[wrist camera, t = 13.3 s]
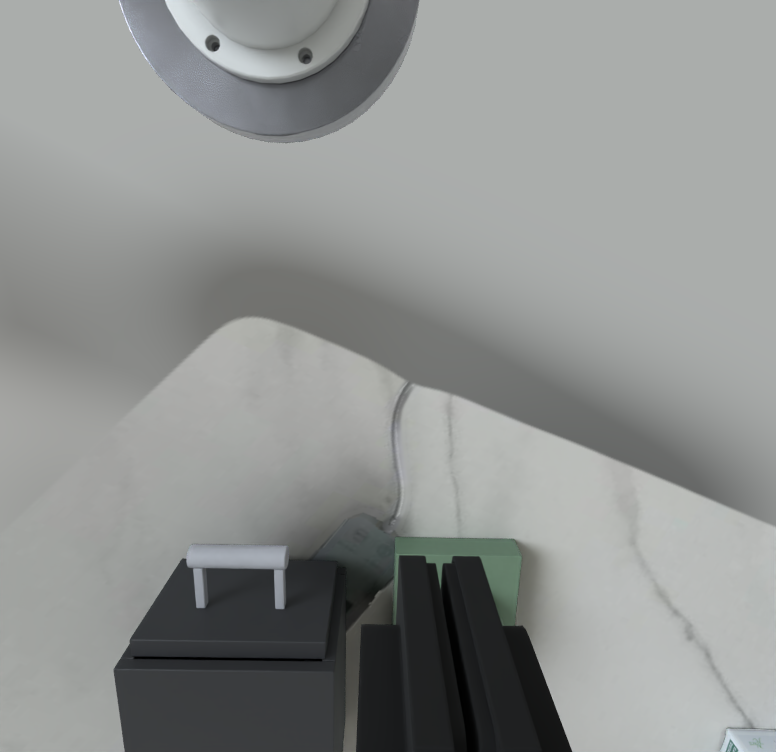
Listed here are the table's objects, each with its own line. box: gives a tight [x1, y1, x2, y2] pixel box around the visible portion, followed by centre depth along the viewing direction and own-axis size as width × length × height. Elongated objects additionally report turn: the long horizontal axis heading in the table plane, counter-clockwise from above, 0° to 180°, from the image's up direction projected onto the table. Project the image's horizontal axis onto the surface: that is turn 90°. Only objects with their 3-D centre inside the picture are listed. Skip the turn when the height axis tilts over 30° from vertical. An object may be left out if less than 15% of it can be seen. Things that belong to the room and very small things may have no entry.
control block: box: [392, 537, 522, 626], centre depth 36 cm, size 11×9×4 cm
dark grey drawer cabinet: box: [114, 568, 346, 752], centre depth 35 cm, size 15×13×10 cm
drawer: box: [130, 544, 337, 661], centre depth 34 cm, size 18×11×8 cm, turn 178°
